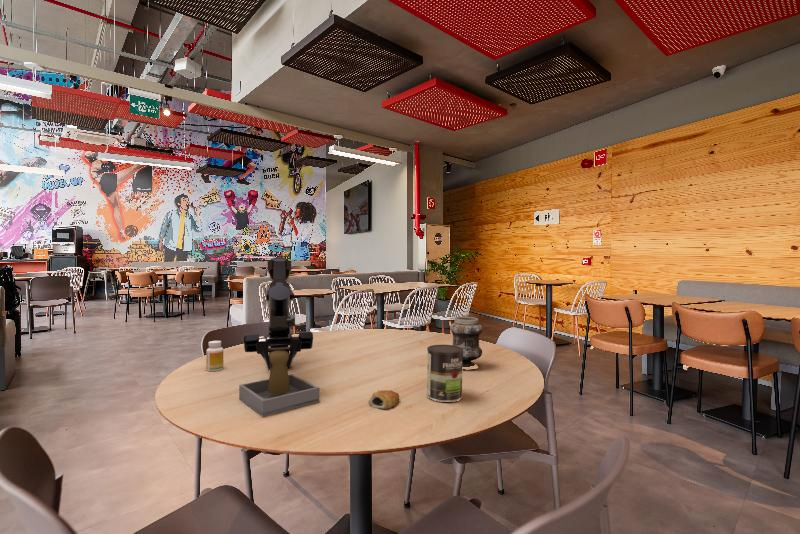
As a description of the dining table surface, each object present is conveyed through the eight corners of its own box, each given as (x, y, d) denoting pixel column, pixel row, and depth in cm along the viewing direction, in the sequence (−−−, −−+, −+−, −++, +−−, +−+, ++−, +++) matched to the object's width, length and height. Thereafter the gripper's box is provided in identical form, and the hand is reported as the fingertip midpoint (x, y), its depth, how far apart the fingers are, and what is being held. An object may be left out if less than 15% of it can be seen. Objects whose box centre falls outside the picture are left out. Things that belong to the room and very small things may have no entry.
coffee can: (469, 399, 115) (470, 350, 115) (439, 405, 110) (439, 354, 110) (449, 388, 124) (449, 342, 124) (419, 393, 119) (420, 346, 119)
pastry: (384, 396, 117) (385, 383, 117) (405, 401, 114) (405, 387, 114) (366, 406, 109) (366, 392, 109) (387, 412, 106) (388, 397, 106)
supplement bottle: (226, 368, 142) (226, 341, 142) (214, 372, 137) (214, 344, 137) (215, 366, 144) (215, 339, 144) (202, 370, 140) (202, 342, 139)
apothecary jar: (486, 365, 150) (487, 317, 150) (474, 373, 140) (475, 321, 139) (457, 360, 157) (457, 314, 156) (443, 367, 147) (443, 318, 146)
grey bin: (292, 387, 123) (292, 374, 123) (319, 402, 112) (319, 387, 111) (239, 399, 113) (239, 384, 113) (262, 417, 101) (262, 401, 101)
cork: (290, 393, 110) (291, 353, 110) (267, 395, 108) (267, 354, 108) (289, 385, 116) (289, 347, 116) (267, 387, 114) (267, 349, 114)
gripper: (244, 305, 112) (240, 354, 102) (312, 303, 118) (315, 350, 108) (246, 328, 120) (243, 376, 110) (310, 325, 126) (313, 371, 116)
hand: (279, 368), depth 111 cm, fingers closed on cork, 5 cm apart
